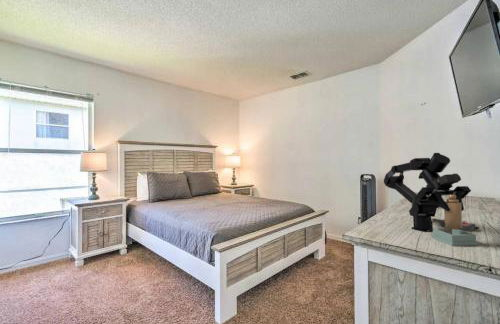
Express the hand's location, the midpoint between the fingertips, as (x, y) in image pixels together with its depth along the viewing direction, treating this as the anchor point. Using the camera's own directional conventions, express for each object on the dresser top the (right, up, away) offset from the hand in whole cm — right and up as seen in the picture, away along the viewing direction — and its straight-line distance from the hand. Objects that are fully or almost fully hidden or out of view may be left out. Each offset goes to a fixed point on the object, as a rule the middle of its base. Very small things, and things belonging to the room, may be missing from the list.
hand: (455, 210), depth 94 cm
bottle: (0, -7, +1) cm, 7 cm away
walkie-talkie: (+17, -13, +23) cm, 32 cm away
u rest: (0, -12, +1) cm, 12 cm away
